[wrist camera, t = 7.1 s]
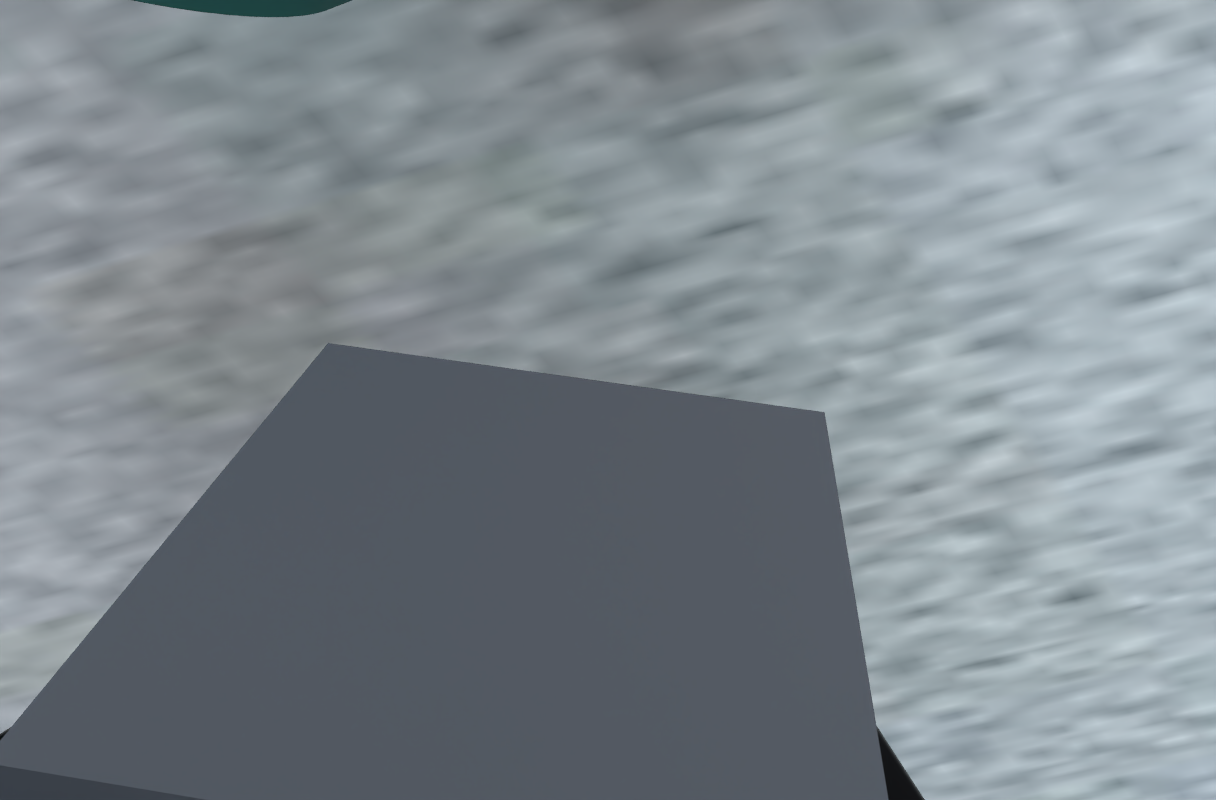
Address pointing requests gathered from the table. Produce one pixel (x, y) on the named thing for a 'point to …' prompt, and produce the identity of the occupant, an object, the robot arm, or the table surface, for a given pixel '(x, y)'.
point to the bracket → (252, 6)
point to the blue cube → (480, 607)
